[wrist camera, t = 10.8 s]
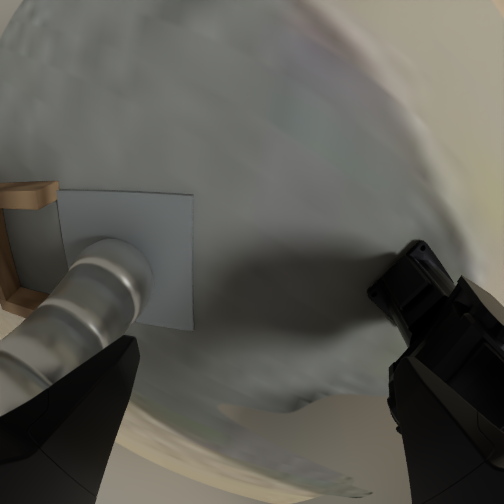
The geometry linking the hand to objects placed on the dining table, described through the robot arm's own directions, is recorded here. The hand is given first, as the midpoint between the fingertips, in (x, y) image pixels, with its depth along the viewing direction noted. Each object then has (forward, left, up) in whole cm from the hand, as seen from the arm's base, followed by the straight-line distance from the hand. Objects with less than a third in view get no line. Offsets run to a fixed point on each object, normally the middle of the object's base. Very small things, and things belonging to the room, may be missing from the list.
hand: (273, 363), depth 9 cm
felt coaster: (+7, +10, -13) cm, 18 cm away
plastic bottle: (+6, +10, -13) cm, 18 cm away
